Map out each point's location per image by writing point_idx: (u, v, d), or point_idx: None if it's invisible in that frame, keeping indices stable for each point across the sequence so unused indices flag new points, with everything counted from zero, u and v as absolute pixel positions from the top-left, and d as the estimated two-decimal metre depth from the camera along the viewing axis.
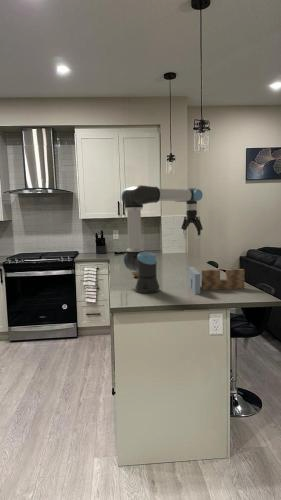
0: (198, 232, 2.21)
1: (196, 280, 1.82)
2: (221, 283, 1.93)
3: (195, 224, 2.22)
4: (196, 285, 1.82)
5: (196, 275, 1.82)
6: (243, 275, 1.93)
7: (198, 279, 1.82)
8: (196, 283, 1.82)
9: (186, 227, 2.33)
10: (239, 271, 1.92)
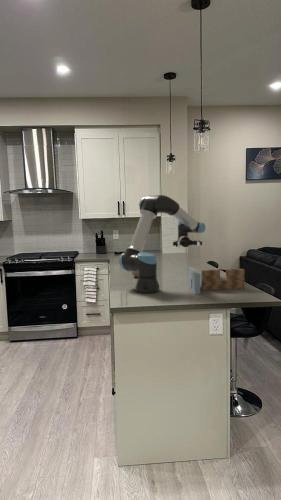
0: None
1: (196, 280, 1.82)
2: (221, 283, 1.93)
3: (194, 241, 2.20)
4: (196, 285, 1.82)
5: (196, 275, 1.82)
6: (243, 275, 1.93)
7: (198, 279, 1.82)
8: (196, 283, 1.82)
9: None
10: (239, 271, 1.92)
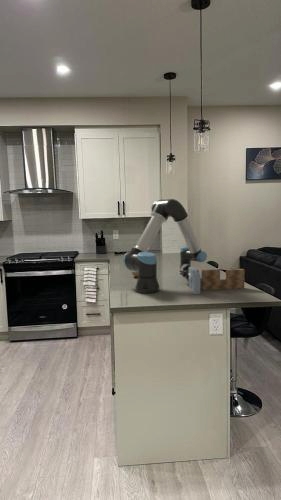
0: None
1: (196, 280, 1.82)
2: (221, 283, 1.93)
3: None
4: (196, 285, 1.82)
5: (196, 275, 1.82)
6: (243, 275, 1.93)
7: (198, 279, 1.82)
8: (196, 283, 1.82)
9: None
10: (239, 271, 1.92)
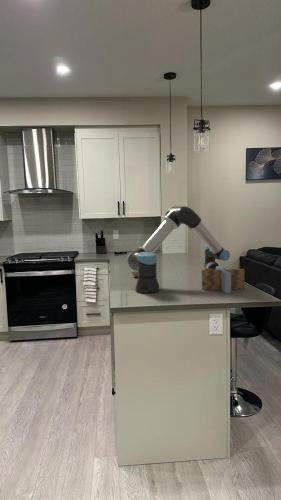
0: None
1: (227, 279, 1.82)
2: None
3: None
4: (227, 284, 1.83)
5: (227, 274, 1.82)
6: (243, 275, 1.93)
7: (229, 278, 1.82)
8: (227, 282, 1.83)
9: None
10: (239, 271, 1.92)
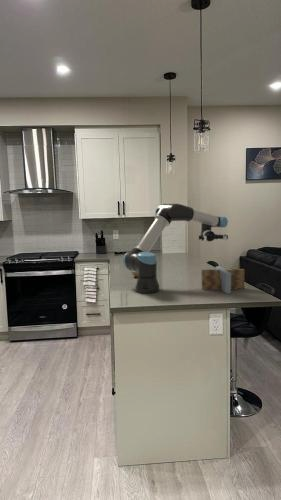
0: None
1: (227, 279, 1.82)
2: None
3: (219, 235, 2.20)
4: (227, 284, 1.83)
5: (227, 274, 1.82)
6: (243, 275, 1.93)
7: (229, 278, 1.82)
8: (227, 282, 1.83)
9: None
10: (239, 271, 1.92)
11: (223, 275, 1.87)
